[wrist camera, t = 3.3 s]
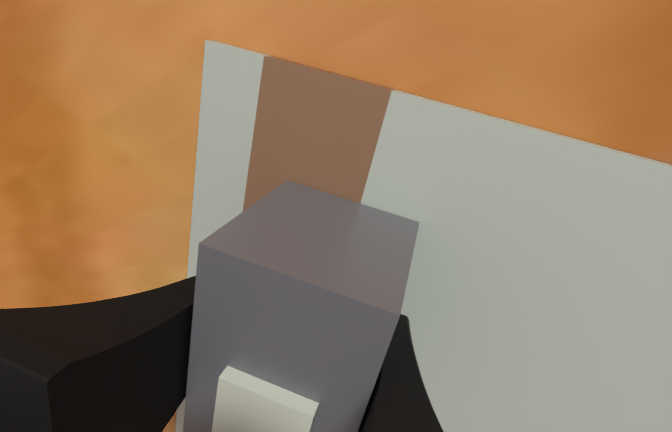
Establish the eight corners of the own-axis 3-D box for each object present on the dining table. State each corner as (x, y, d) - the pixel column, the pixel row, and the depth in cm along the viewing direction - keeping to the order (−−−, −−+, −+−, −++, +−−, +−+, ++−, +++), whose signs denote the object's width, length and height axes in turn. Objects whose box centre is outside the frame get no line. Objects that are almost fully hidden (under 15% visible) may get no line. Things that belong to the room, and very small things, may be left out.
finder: (419, 222, 12) (397, 328, 7) (363, 381, 15) (322, 532, 10) (286, 180, 13) (187, 251, 8) (258, 339, 16) (172, 462, 11)
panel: (861, 216, 10) (885, 225, 9) (512, 608, 18) (513, 625, 18) (216, 41, 13) (205, 40, 12) (180, 451, 21) (172, 461, 21)
